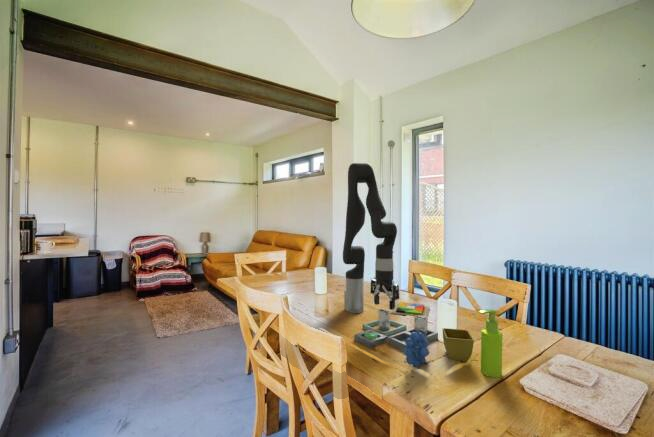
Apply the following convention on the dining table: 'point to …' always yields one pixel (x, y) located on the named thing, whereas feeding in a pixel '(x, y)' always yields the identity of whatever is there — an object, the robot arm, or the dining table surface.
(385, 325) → the cylinder
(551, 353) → the dining table surface
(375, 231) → the robot arm
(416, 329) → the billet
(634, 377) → the dining table surface
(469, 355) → the flower pot
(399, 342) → the tray
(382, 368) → the dining table surface
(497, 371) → the soap dispenser
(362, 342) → the grey button housing
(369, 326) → the tray
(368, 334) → the button
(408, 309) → the wooden puzzle
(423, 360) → the grapes
